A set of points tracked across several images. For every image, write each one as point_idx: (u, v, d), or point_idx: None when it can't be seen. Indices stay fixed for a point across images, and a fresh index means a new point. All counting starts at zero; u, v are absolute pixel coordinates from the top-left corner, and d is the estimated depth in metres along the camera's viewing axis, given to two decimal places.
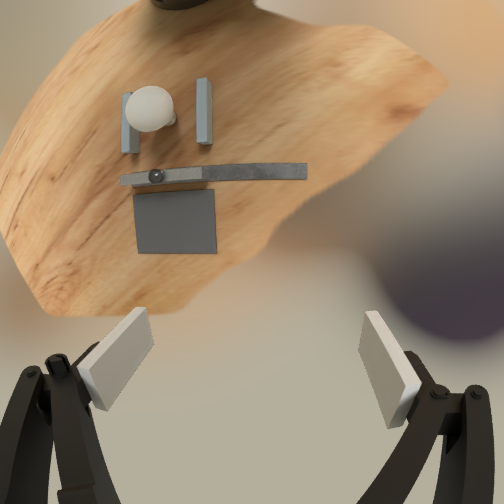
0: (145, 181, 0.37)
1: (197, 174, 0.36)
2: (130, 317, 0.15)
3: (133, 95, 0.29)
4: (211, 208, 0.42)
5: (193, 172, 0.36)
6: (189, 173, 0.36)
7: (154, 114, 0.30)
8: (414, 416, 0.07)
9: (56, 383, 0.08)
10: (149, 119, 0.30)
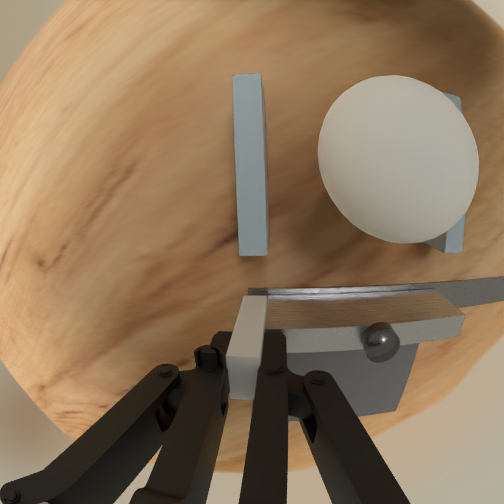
0: (342, 347, 0.15)
1: (455, 329, 0.14)
2: (246, 305, 0.16)
3: (402, 101, 0.06)
4: (410, 356, 0.19)
5: (450, 326, 0.14)
6: (443, 328, 0.14)
7: (466, 208, 0.07)
8: (256, 396, 0.09)
9: (199, 375, 0.10)
10: (451, 223, 0.07)
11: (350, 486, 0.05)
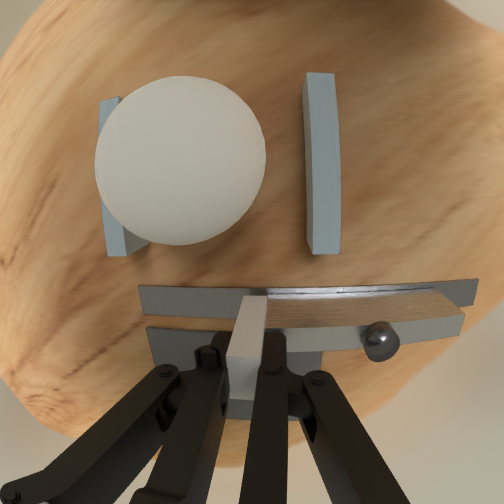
0: (342, 346, 0.15)
1: (455, 328, 0.14)
2: (246, 305, 0.16)
3: (119, 113, 0.07)
4: (315, 364, 0.20)
5: (450, 325, 0.14)
6: (442, 327, 0.14)
7: (215, 203, 0.08)
8: (256, 396, 0.09)
9: (199, 375, 0.10)
10: (194, 222, 0.08)
11: (350, 486, 0.05)
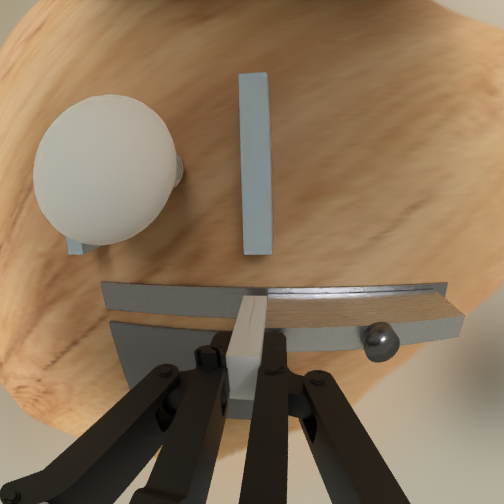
0: (342, 346, 0.15)
1: (454, 329, 0.14)
2: (246, 305, 0.16)
3: (45, 136, 0.07)
4: None
5: (449, 326, 0.14)
6: (442, 329, 0.14)
7: (112, 208, 0.09)
8: (256, 396, 0.09)
9: (199, 375, 0.10)
10: (98, 225, 0.09)
11: (350, 486, 0.05)
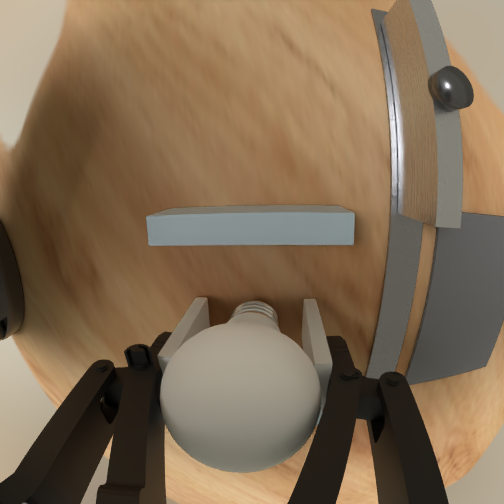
0: (457, 135, 0.09)
1: (423, 0, 0.07)
2: (195, 306, 0.16)
3: (193, 457, 0.08)
4: (470, 219, 0.14)
5: (421, 6, 0.07)
6: (425, 14, 0.07)
7: (280, 408, 0.08)
8: (327, 399, 0.09)
9: (132, 374, 0.10)
10: (296, 421, 0.08)
11: (402, 487, 0.04)
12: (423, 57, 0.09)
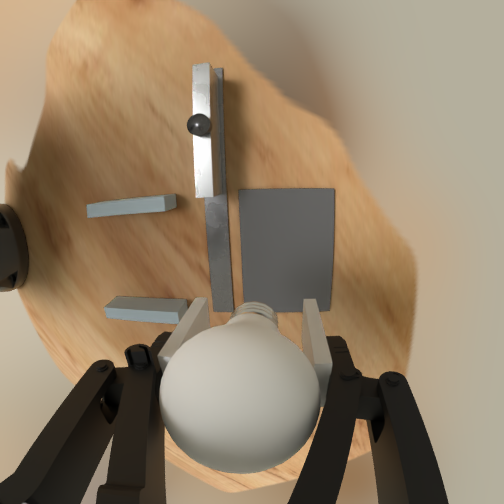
0: (208, 148, 0.23)
1: (203, 68, 0.21)
2: (195, 306, 0.16)
3: (192, 458, 0.08)
4: (266, 193, 0.28)
5: (199, 74, 0.21)
6: (200, 79, 0.21)
7: (279, 409, 0.08)
8: (327, 399, 0.09)
9: (132, 374, 0.10)
10: (295, 422, 0.08)
11: (402, 487, 0.04)
12: (193, 109, 0.22)
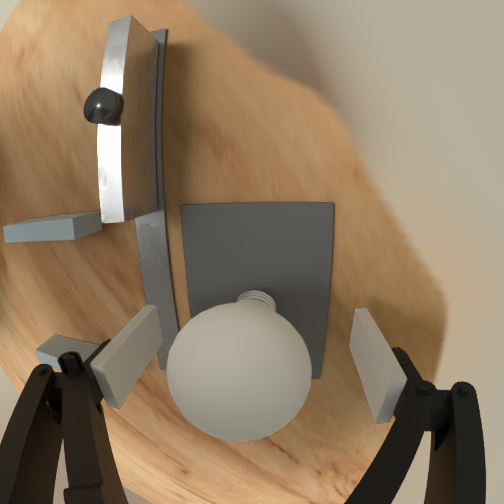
0: (116, 141, 0.13)
1: (121, 24, 0.11)
2: (141, 314, 0.15)
3: (194, 425, 0.10)
4: (223, 210, 0.18)
5: (116, 33, 0.11)
6: (116, 39, 0.11)
7: (271, 373, 0.09)
8: (400, 412, 0.07)
9: (68, 380, 0.09)
10: (286, 387, 0.09)
11: (450, 495, 0.03)
12: None
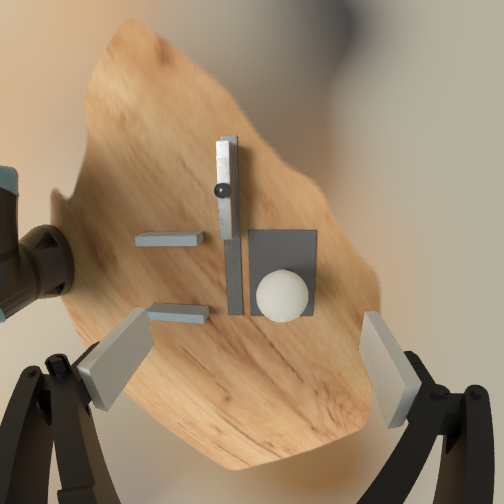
0: (228, 206, 0.36)
1: (224, 145, 0.34)
2: (130, 317, 0.15)
3: (269, 313, 0.33)
4: (268, 233, 0.41)
5: (221, 149, 0.34)
6: (222, 153, 0.34)
7: (296, 289, 0.32)
8: (414, 416, 0.07)
9: (56, 383, 0.08)
10: (301, 294, 0.32)
11: (459, 498, 0.03)
12: None
